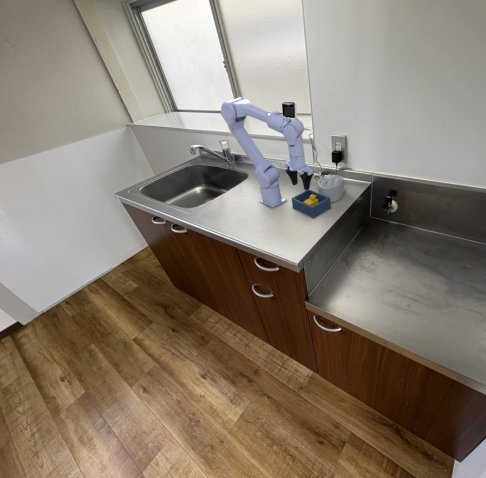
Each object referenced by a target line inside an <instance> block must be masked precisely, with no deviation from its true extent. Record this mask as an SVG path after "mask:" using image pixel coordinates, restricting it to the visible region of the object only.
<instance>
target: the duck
mask: <svg viewBox="0 0 486 478" xmlns="http://www.w3.org/2000/svg"><path fill="white" fill-rule="evenodd" d="M316 197H317V195H313V194H312V195H310V198H309V199H307V200H306V201H304V202H303V203H305V204H307V205H309V206H311V207H313V206H315V205H317V204H318V203H319V201H318V199H316Z"/></svg>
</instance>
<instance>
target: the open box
mask: <svg viewBox="0 0 486 478" xmlns="http://www.w3.org/2000/svg"><path fill="white" fill-rule="evenodd" d="M312 194H313V195H317V197H316V199H318V201H319V203H318V204H317V205H315V206H313V207H311V206H309V205H307V204H305V203H303V202H304V201H306V200H307V199H309V198H310V195H312ZM291 204H292V209H294V210H296V211H298V212H299V213H302V214H304V215H306V216H308V217H309V218H311V219H316V218H318V216H320V215H322V214H323V213H325V212H327V211H328V210H330V209H332V208H331V207H332V206H331V203H330V198H329V197H327V196H324V195H322V194H319V192H316V191H314V190H313V189H310V188H309V189H308V190H304V191H302V192H300V193H298V194H297V195H294V196H293V197H291Z"/></svg>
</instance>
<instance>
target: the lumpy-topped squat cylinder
mask: <svg viewBox="0 0 486 478" xmlns="http://www.w3.org/2000/svg"><path fill="white" fill-rule="evenodd" d="M317 190H318V192H317V193H319V194H322V195H324V196H327V197H329V198H330V204H331V203H335V202H337V201H339V200H340V199H342V197H343V196H344V193H345V183H344V177H343V176H341V175H338V174H326V175H323V176H321V177H320V178H319V179H318V182H317Z"/></svg>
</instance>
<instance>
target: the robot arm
mask: <svg viewBox="0 0 486 478" xmlns="http://www.w3.org/2000/svg"><path fill="white" fill-rule="evenodd" d="M220 115H221V118H222V119H223V120H224V122H225V123H226V125H227V127H228V130H229V131H230V133H231V134H232V136H233V137H234V139H235V140H236V142H237V143H238V145H239V146H240V148H241V149H242V150H243V152H244V153H245V155H246V156H247V157H248V159H249V160H250V162H251V164H252V165H253V167H254V168H255V171H254V176H255V178H256V179H257V183H258V185H259V191H260V195H261V200H260V201H261V203H262V204H265V205H266V206H268V207H270V208H272V209H273V208H275V207H277V206H279V205H281V204H283V203H284V202H286V201H287V200H286V199H285V198H283V197H282V193H281V189H280V184H279V182H280V180H279V179H280V178H281V172H280V170H279V168H277V166H275V165H274V164H273V163H272V161H269V160H266V158H265V157H264V155H263V153H262V152H261V151H260V149H259V148H258V146H257V145H256V143H255V141H254V140H253V139H252V137H251V136H250V134H249V133H248V131H247V129H246V128H245V122H246V119H247V116H248V117H251V118H253V119H256V120H258V121H261V122H263V123H266V125H267V128H269V129H271V130H273V131H275V132H278V133H280V134H281V135H283V137H284V138H285V140H286V144H287V149H288V156H289V161H285V164H284V165H285V168H286V169H285V170H284V172H285V174H287V176H288V178H289V179H290V181H291V184H292V186H296V185H298V183H299V179H298V172H301V174H300V175H299V178H300V179H301V181H302V185H303V189H304V191H306V190H308V189H310V187H311V181H312V179H313V176H314V173H315V172H314V170H313V168H312V167H310V166H309V165H307V164H306V158H305V149H304V141H303V134H304V131H305V126H304V124H303V122H302V121H301V120H300V119H298V118H293V119H291V117H289V116H288V117H287V116H284V115H283V114H280V111H278V110H277V111H271V112H268V111H267V110H265V109H262V108H261V107H259V106H257V105H256V104H253V103H252V102H251V101H249V99H246V98H244V97H242V96H241V97H240V96H239V97H237V98H235V99H232V100H229V101H225V102H223V103H222V104H221V107H220Z"/></svg>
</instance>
